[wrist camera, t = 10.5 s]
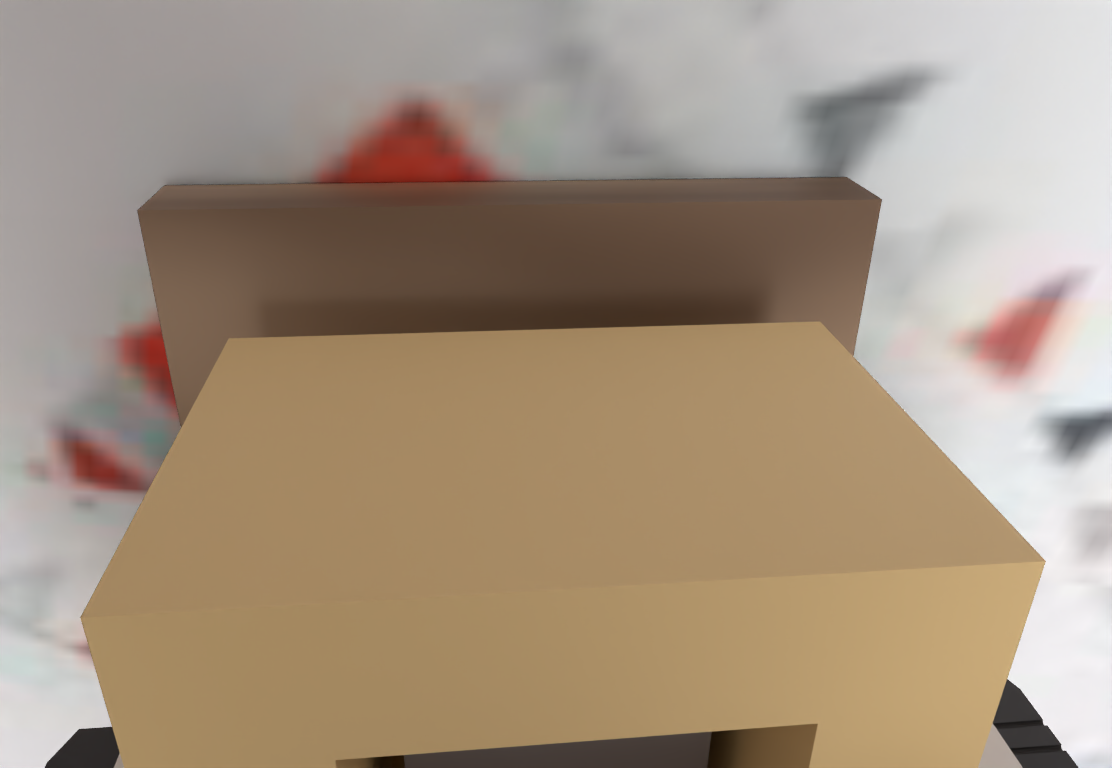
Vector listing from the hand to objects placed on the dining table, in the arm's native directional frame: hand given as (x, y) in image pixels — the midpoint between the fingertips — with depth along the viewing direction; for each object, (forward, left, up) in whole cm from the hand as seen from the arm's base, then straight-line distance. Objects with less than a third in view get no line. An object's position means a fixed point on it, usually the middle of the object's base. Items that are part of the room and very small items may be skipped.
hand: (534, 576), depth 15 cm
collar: (0, 0, 0) cm, 0 cm away
